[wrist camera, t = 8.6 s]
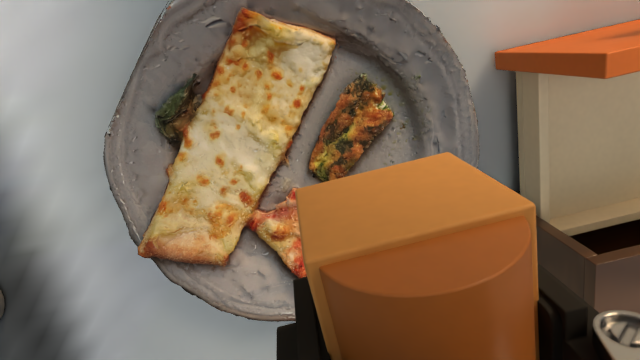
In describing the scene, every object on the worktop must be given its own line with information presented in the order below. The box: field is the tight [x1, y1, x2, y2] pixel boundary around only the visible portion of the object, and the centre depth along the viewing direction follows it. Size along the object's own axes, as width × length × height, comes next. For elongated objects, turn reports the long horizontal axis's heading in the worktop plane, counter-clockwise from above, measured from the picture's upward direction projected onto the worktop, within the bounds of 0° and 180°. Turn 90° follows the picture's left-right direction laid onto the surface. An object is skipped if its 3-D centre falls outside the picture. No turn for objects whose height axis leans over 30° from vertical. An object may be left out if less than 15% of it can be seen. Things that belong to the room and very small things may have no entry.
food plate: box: [104, 0, 479, 322], centre depth 26 cm, size 25×23×4 cm
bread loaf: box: [295, 152, 539, 360], centre depth 10 cm, size 8×5×6 cm, turn 13°
